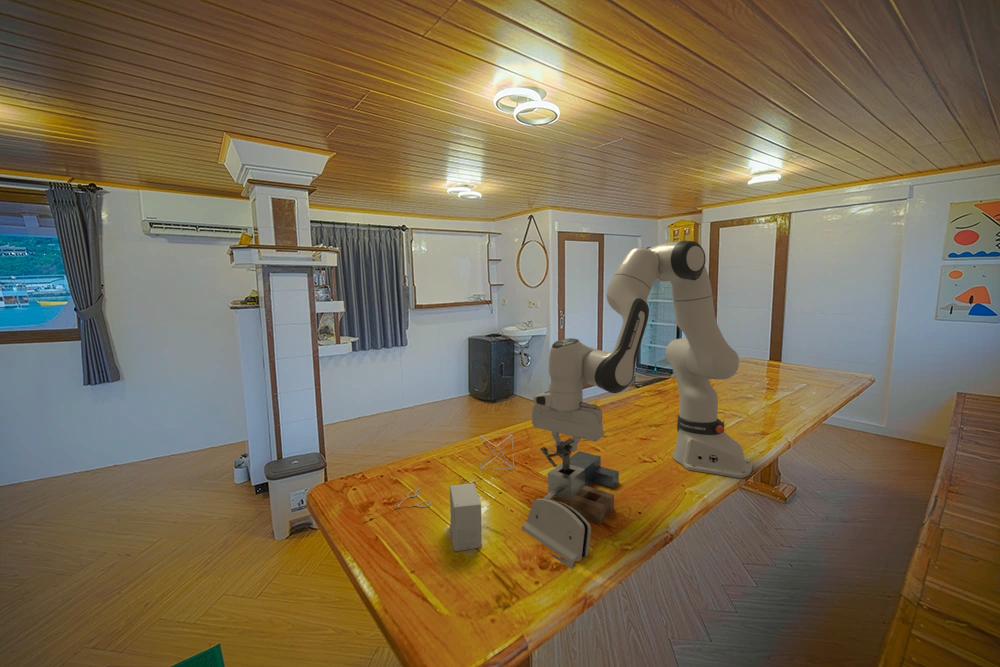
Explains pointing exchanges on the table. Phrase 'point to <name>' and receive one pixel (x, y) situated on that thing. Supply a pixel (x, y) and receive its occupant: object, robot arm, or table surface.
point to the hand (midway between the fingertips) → (566, 449)
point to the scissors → (414, 496)
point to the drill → (579, 476)
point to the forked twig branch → (550, 455)
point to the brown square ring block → (593, 504)
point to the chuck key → (565, 455)
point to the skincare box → (465, 517)
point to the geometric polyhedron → (499, 452)
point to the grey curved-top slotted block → (559, 529)
